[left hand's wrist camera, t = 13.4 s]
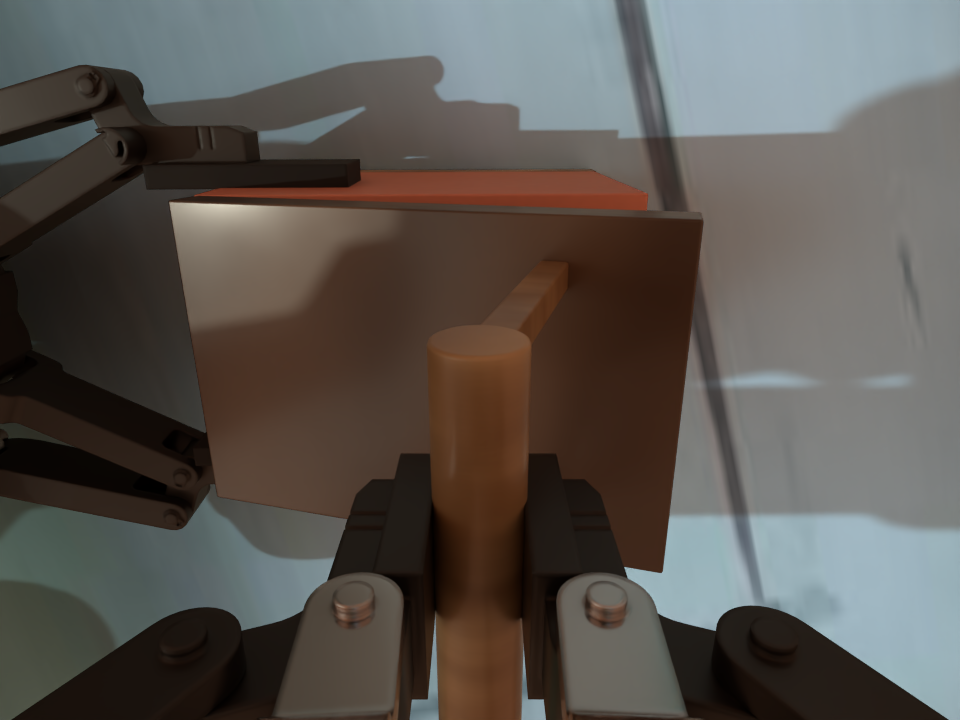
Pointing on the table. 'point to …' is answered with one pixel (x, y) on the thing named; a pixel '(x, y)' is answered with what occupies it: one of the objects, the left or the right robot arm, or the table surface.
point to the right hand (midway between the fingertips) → (363, 315)
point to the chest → (471, 189)
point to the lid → (445, 379)
